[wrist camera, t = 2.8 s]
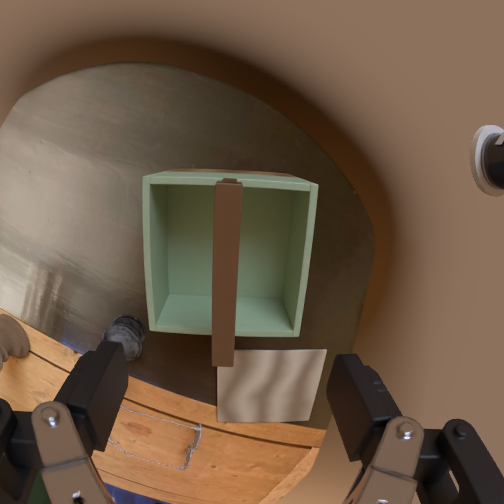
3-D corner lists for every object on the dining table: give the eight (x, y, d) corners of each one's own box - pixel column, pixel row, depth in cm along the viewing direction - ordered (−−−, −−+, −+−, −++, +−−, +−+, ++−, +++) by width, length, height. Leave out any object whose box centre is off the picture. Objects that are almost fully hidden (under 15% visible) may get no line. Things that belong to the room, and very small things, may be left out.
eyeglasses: (186, 457, 51) (185, 472, 47) (102, 432, 48) (96, 446, 44) (204, 416, 46) (203, 433, 43) (103, 385, 44) (96, 400, 40)
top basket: (299, 177, 29) (337, 191, 18) (286, 301, 33) (309, 367, 22) (163, 171, 28) (122, 181, 17) (164, 296, 32) (137, 360, 21)
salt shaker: (155, 331, 41) (134, 387, 29) (133, 353, 42) (110, 408, 30) (123, 305, 39) (91, 355, 28) (103, 329, 40) (71, 379, 29)
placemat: (326, 348, 43) (326, 350, 43) (308, 418, 48) (308, 420, 48) (217, 348, 42) (217, 350, 42) (217, 419, 47) (217, 421, 46)
